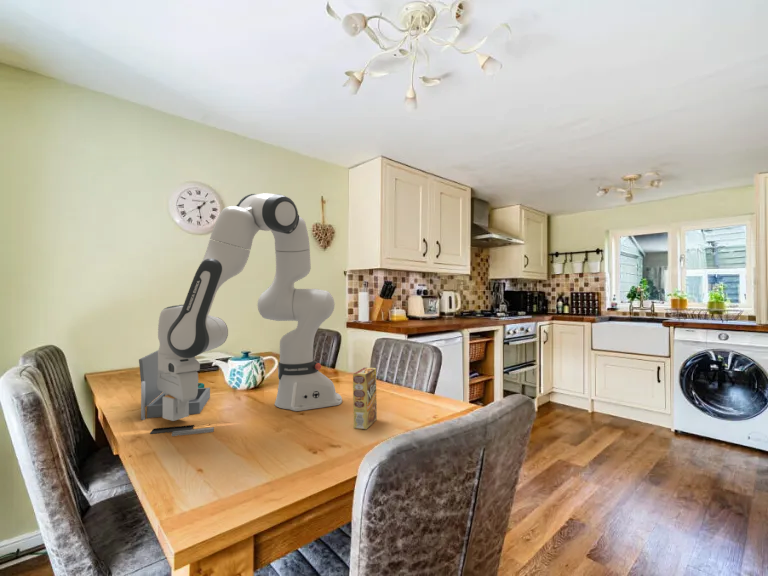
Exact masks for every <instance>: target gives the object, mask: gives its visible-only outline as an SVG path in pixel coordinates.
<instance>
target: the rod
mask: <svg viewBox="0 0 768 576" xmlns="http://www.w3.org/2000/svg"><path fill="white" fill-rule="evenodd" d="M214 430H215V428H214V427H213V426H212V427H205V428H204V427H203V428H196V429H195V428H194V429H193V428H192V430H181V431H173V432H171V437H176V436H178V435H179V436H188V435H196V434H207V433H214Z"/></svg>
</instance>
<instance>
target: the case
mask: <svg viewBox="0 0 768 576" xmlns="http://www.w3.org/2000/svg"><path fill="white" fill-rule="evenodd" d="M163 396H165V393H164V392H163V393H161V394H160V395H159V396H158V397H157V398H156V399H155V400H153V401H152V402H151V403H150V404H149V405H148V406H146V407H145V381H142V382H141V381H140V399H141V400H140V420H141V421H145V420H146V418H147V419H152V418H163ZM210 398H211V387H204V388H198V393H197V397H196V398H195V399H194V400H189V415H200V414H201V412H202V411H203V409H204V407H206V405H207V403H208V402H209V400H210Z"/></svg>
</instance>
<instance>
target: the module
mask: <svg viewBox="0 0 768 576" xmlns="http://www.w3.org/2000/svg"><path fill="white" fill-rule="evenodd" d="M177 406H178V402H177V398H174V397H172V396H170V395H166V396H163V417H162V419H165V420H169V421H171V422H174V421H177V420H178V421H179V420H181V419H185V418H188V417H189V416H190V414H189V401H187V403H186V406H185V413H184V414H178V413H176V407H177Z"/></svg>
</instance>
